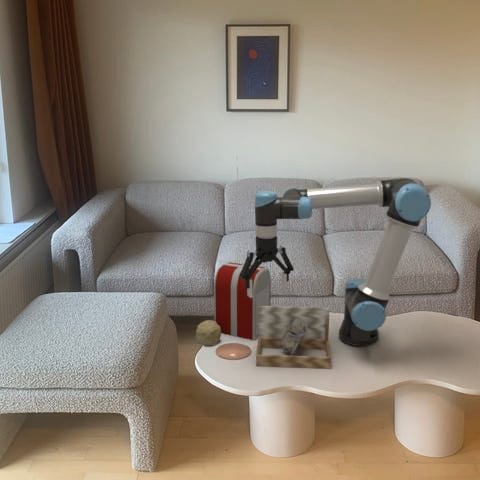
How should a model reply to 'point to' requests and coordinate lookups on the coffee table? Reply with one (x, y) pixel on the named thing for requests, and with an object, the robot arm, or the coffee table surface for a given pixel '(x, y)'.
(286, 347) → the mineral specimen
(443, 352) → the coffee table surface
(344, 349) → the coffee table surface
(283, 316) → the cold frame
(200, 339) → the decorative object
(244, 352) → the peach round smooth part
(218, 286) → the red striped box
